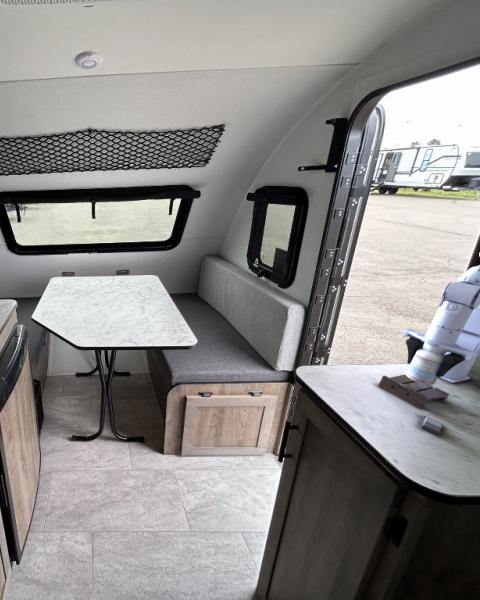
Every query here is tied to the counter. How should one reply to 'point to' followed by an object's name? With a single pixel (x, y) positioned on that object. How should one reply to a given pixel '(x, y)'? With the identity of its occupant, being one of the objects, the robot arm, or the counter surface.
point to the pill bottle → (426, 364)
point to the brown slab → (412, 390)
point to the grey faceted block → (431, 425)
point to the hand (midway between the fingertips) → (424, 369)
